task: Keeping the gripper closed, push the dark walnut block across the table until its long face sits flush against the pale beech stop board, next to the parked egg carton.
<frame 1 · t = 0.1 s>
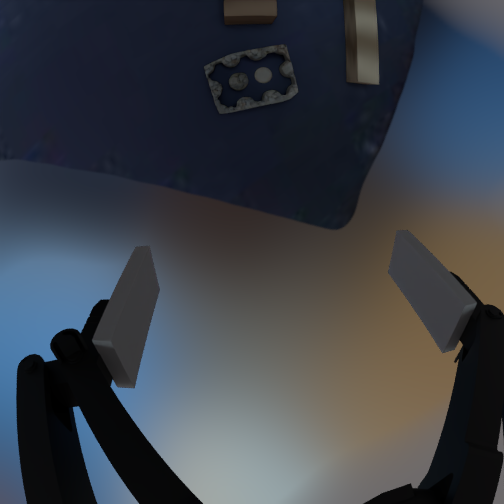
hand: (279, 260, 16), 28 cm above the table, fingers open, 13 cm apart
egg carton: (251, 79, 35), on the table
board: (353, 6, 29), on the table
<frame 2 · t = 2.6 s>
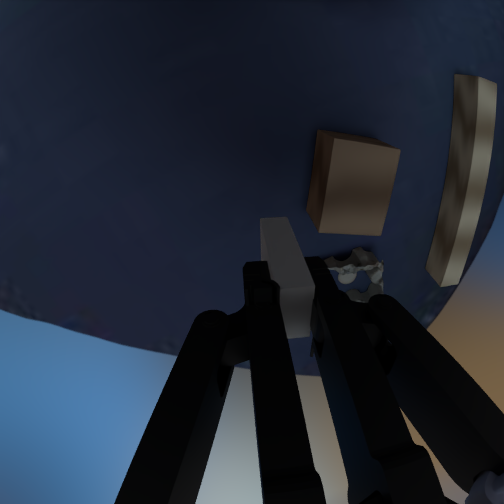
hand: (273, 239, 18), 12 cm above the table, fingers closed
block: (341, 173, 28), on the table
egg carton: (333, 279, 34), on the table
board: (454, 178, 28), on the table
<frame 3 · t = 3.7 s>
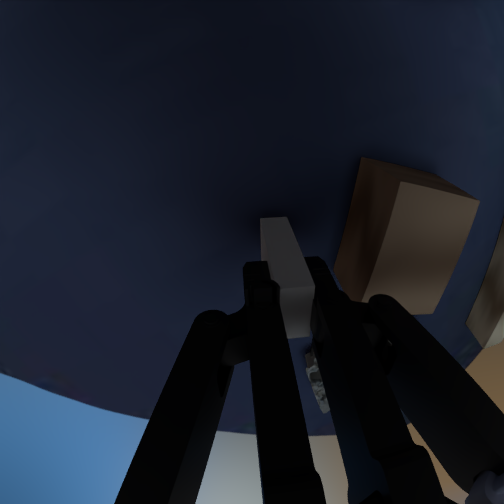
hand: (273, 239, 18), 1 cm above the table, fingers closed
block: (385, 221, 19), on the table
egg carton: (360, 347, 26), on the table
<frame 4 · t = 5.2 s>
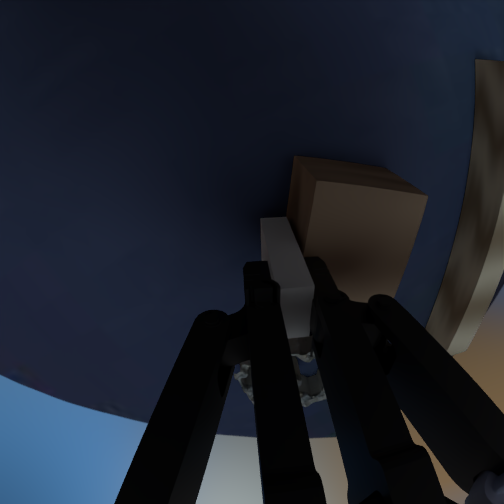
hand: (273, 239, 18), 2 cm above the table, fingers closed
block: (331, 221, 19), on the table, touching gripper
egg carton: (302, 353, 26), on the table
board: (473, 213, 19), on the table
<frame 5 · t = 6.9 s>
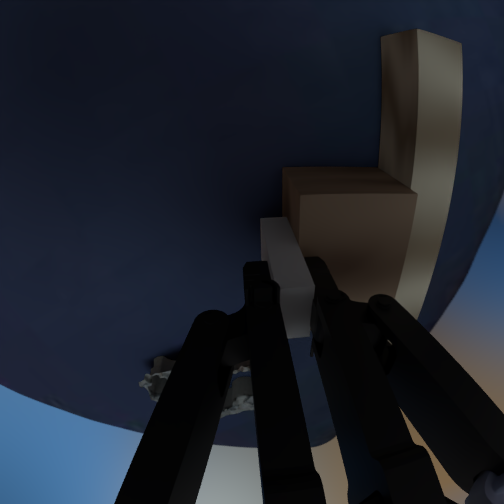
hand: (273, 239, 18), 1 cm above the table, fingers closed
block: (327, 226, 19), on the table
egg carton: (211, 366, 26), on the table
board: (391, 220, 19), on the table
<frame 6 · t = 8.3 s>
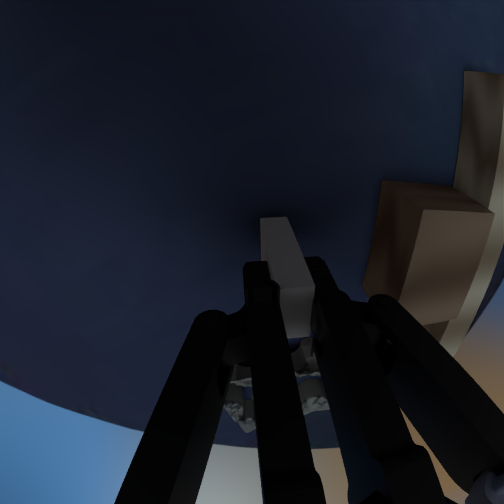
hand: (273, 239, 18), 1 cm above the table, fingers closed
block: (407, 235, 20), on the table
egg carton: (281, 370, 26), on the table
board: (456, 230, 20), on the table
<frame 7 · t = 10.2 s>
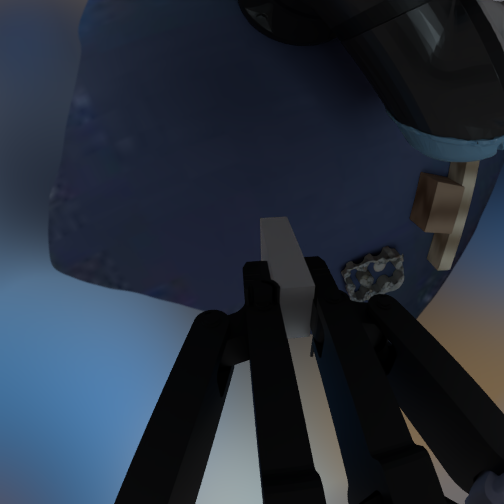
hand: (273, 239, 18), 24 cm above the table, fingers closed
block: (428, 197, 43), on the table
egg carton: (370, 269, 49), on the table
board: (449, 197, 43), on the table
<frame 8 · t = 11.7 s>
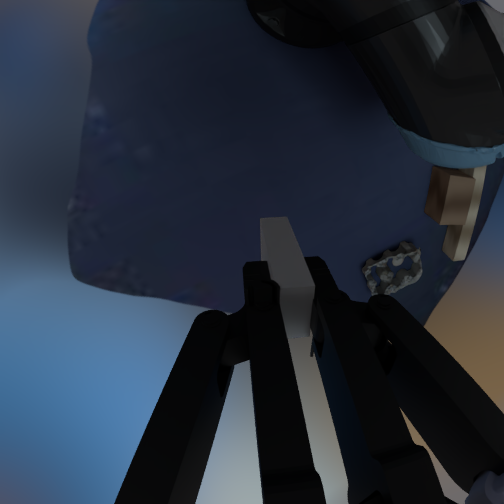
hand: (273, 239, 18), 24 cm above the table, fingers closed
block: (441, 190, 43), on the table
egg carton: (389, 264, 50), on the table
board: (461, 189, 43), on the table
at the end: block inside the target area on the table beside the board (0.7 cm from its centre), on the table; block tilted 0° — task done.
